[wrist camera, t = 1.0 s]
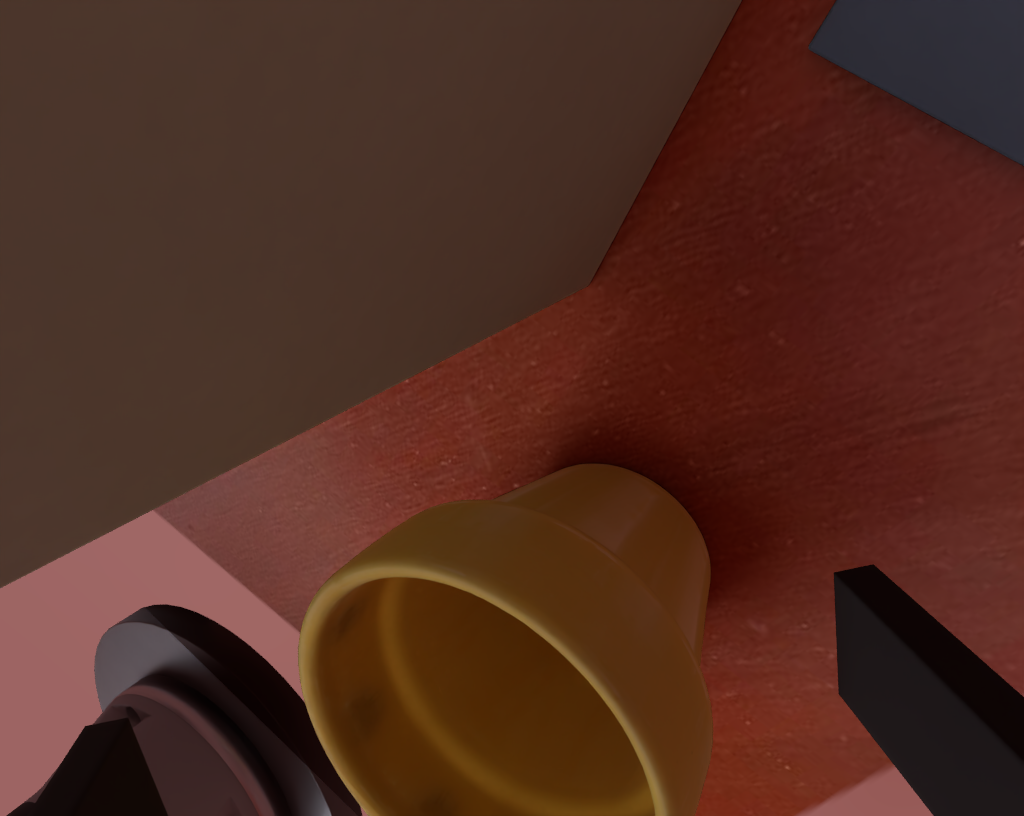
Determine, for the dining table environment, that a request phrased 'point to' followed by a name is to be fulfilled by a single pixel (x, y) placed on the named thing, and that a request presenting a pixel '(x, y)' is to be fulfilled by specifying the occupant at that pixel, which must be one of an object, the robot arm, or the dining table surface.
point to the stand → (290, 216)
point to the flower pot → (520, 656)
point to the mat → (939, 60)
